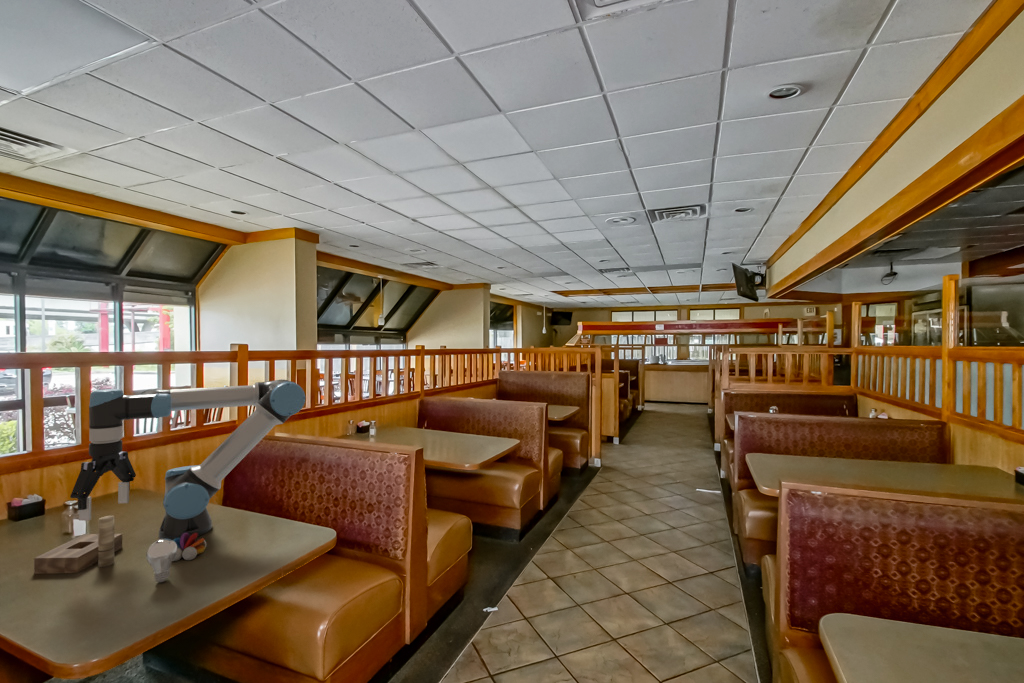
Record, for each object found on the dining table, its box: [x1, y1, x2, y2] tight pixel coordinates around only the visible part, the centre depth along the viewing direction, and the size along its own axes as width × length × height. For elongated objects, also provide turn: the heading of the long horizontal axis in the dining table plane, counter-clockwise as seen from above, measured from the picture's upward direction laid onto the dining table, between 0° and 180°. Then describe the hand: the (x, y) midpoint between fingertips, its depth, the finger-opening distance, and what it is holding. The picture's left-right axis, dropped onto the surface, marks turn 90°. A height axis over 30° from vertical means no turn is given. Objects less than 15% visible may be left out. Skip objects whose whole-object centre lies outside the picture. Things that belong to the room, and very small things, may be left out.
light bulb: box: [145, 538, 178, 584], centre depth 126 cm, size 7×7×12 cm
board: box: [33, 533, 123, 575], centre depth 139 cm, size 12×16×4 cm
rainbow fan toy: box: [172, 533, 207, 562], centre depth 142 cm, size 8×10×7 cm
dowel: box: [97, 515, 115, 568], centre depth 136 cm, size 4×4×14 cm
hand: (105, 511), depth 136 cm, fingers open, 13 cm apart
